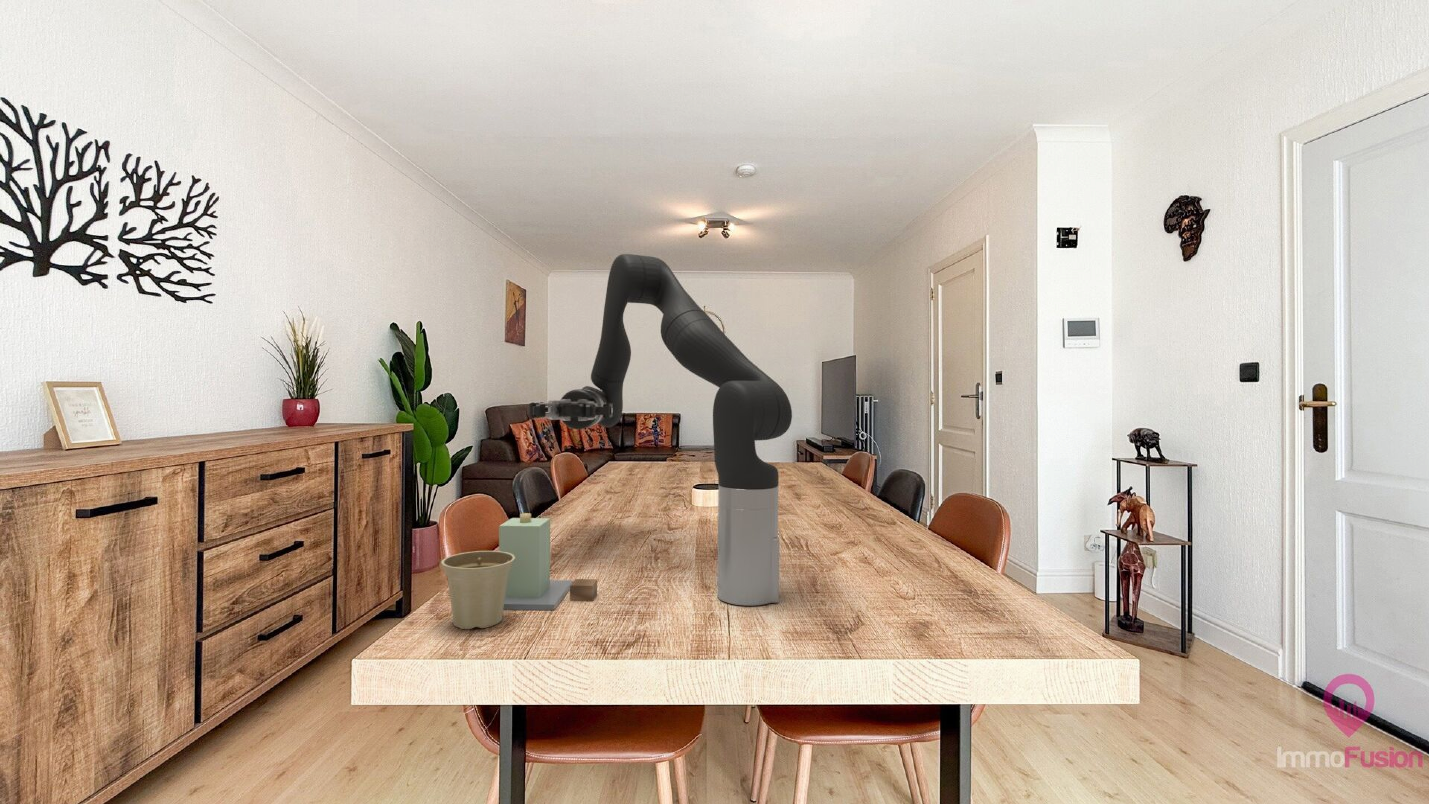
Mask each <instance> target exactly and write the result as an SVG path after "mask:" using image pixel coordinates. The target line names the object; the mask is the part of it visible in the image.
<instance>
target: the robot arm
mask: <svg viewBox="0 0 1429 804" xmlns="http://www.w3.org/2000/svg"><path fill="white" fill-rule="evenodd" d="M606 284H607V285H606V293H605V300H604V306H603V307H604V308H603V317H602V318H603V319H602V328H601V334H600V339H599V344H598V348H597V349H598V350H597V352H596V356H595V360H594V362H593V366H592V369H591V374H590V380H591V382H592V384H593V385H594V386H595V387H593V386H589V385H586V386H584V387H582V388H581V389H580V388H579V389H573V390H570V391H569V390H568V391H567V392H566V393H565V394H564V395H563V396H562V397H561V399H560V400H548V402H547V403H546V402H543V401H540V402H530V403H529V405H528V407H529V411H528V412H529V413H528V415H529V416H528V417H529V418H531V419H534V418H540V419H544V418H547V419H548V420H549V421H550V420H551V421H552V420H555V421H557V420H561V422H562V424H564V425H565V426H566V427H567V428H570V429H572V430H583V429H584V430H585V429H588V428H590V427H593V426H595V425H599V426H601V427H604V428H612V427H614V426H616V425H617V424H618V423H619V421H621V418H622V414H623V410H624V409H623V407H624V403H623V401H624V400H623V398H624V397H623V388H624V382H625V378H626V374H627V372H628V369H629V366H630V363H631V357H632V349H631V343H630V340H629V336H628V333H627V331H626V329H625V323H624V313H625V310H626V307H627V305H628V303H629V304H643V305H644V304H645V305H650V306H654V307H656V308H657V309H658V310H659V311H660V312H661V313H662V319H661V323H660V336H661V337H660V338H661V339H662V340H661V341H662V342H663V344H664V345H665V347H666V348H667V349H668V351H669V352H670V353H671V355H672V356H673V358H675V360H677V362H678V363H679V364H680V365H681V366H682V367H683V368H685V369H686V370H687V371H689V372H690V373H692V374H694V375H696V377H699V378H701V379H703V380H704V381H706V382H709V384H710V383H711V384H712V385H714V386H716V387H717V388H718V390H717V392H716V394H715V397H714V401H713V407H712V431H713V452H714V453H713V455H714V458H713V459H714V464H715V468H716V472H717V476H718V481H717V482H718V497H717V498H718V500H717V501H718V504H717V506H718V507H717V508H718V510H717V511H718V512H717V513H718V514H717V515H718V516H717V580H716V581H717V582H716V583H717V584H716V587H717V588H716V589H717V592H716V594H717V598H718V599H719V600H720V601H723V602H725V603H727V604H731V605H735V606H736V605H737V606H761V605H767V604H770V603H774V604H775V603H776V604H777V603H779V602H780V542H781V541H780V538H779V479H780V478H779V477H780V476H779V470H778V468H777V467H776V466H775V465H774V464H771V463H768V462H766V461H764V460H762V459H761V458H760V457H759V456H758V454H757V450H756V441H769V440H773V439H776V438H779V437H782V436H783V435H784V434H786V432H787V431H788V430H789V428H791V427H790V426H791V424H792V418H793V411H792V405H791V402H790V400H789V397H788V395H787V393H786V392H785V391H784V389H783V388H782V387H781V386H780V385H779V384H778V383H777V382H776V381H775V380H774V379H772V377H770V376H769V375H768V374H766V373H765V372H764V371H763V370H762V369H760V368H759V366H757V365H756V364H754V363H753V362H752V361H751V360H750V358H748V357H747V356H746V355H745V354H744V353H743V352H742V351H741V350H740V349H739V348H738V347H737V346H736V345H735V343H734V342H732V340H731V339H729V337H727V335H726V334H725V333H724V332H723V331H722V330H721V328H720V327H719V326H718V325H717V323H715V321H714V320H713V319H712V318H711V317H710V315H708V314H707V313H706V312H705V310H703V309H702V308H701V307H700V306H699V305H698V304H697V302H696V301H695V300H694V299H693V297H691V296H690V294H689V293H688V292H687V291H686V290H685V288H684V287H683V285H682V284H681V283H680V282H679V280H678V278H677V276H675V274H674V272H673V271H672V269H671V268H670V266H669V265H668V264H667V263H666V262H665V261H664V260H662V259H660V258H658V257H657V256H656V257H655V256H649V255H639V254H632V253H631V254H630V253H623V254H620V255H617V256H616V258H615V259H614V260H613V261H612V264H611V266H610V269H609V274H608V279H607V283H606ZM596 387H597V388H596Z"/></svg>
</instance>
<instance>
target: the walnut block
mask: <svg viewBox="0 0 1429 804" xmlns="http://www.w3.org/2000/svg"><path fill="white" fill-rule="evenodd" d="M597 596H598V579H597V578H595V579H593V578H590V579H589V578H588V579H587V578H575V579H574V580H573V582H572V584H571V585H570V590H569V601H570V602H593V601H594V600H595V599H596V597H597Z"/></svg>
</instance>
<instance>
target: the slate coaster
mask: <svg viewBox="0 0 1429 804" xmlns="http://www.w3.org/2000/svg"><path fill="white" fill-rule="evenodd" d="M573 581H574V580H571V579H569V580H568V579H567V580H565V579H564V580H563V579H557V580H556V579H555V580H554V579H550V586H549V587H548V588H547V589H546V590H545V592H544V593H543V594H542V595H541V596H540V597H539V598H536V597H505V601H504V608H503V611H504V610H505V611H507V610H508V611H509V610H510V611H511V610H512V611H515V610H516V611H520V610H521V611H555V610H556V608H557V607H558V606H559V605H560V603H561V602H562V601H563V600H564V598H565V597H566V595H568V592H570V585H571V584H572V582H573Z"/></svg>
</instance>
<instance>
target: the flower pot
mask: <svg viewBox="0 0 1429 804" xmlns="http://www.w3.org/2000/svg"><path fill="white" fill-rule="evenodd" d="M514 561H515V556H514V555H513V554H511V553H508V552H501V551H499V550H476V551H467V552H459V553H457V554H451V555H449V556H446V557H445V558H443V559H442V560H441V563H440V564H441V566H442V567H443V568H444V574H445V576H446V577H447V584H448V588H449V589H448V590H449V598H450V606H451V614H452V622H453V623H452V624H453V626H455V627H457V628H459V629H462V630H463V629H464V630H472V629H474V628H480V629H486V628H490V627H493V626H495V625H498V624H499V623H501V621H502V618H503V615H504V610H503V608H504V601H505V594H506V588H507V581H508V575H509V572H510V571H511V566H512V563H513V562H514Z"/></svg>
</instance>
